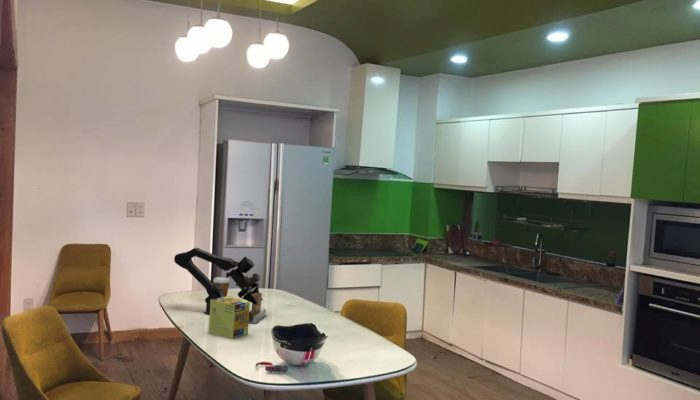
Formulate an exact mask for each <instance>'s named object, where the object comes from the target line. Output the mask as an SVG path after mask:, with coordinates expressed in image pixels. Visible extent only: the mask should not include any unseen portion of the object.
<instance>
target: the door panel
mask: <svg viewBox="0 0 700 400" xmlns="http://www.w3.org/2000/svg"><path fill="white" fill-rule="evenodd" d="M253 297H254V299H255V300H256V302H257V304H256V305H255V304H253V303H251V309H252V312H251V318H253V317H254V316H255V315H256V314H258V313H259V312H260V311H262V310H261V309H262V301H261V297H262V292H259V293H257V292H256V293H254V294H253Z"/></svg>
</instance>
